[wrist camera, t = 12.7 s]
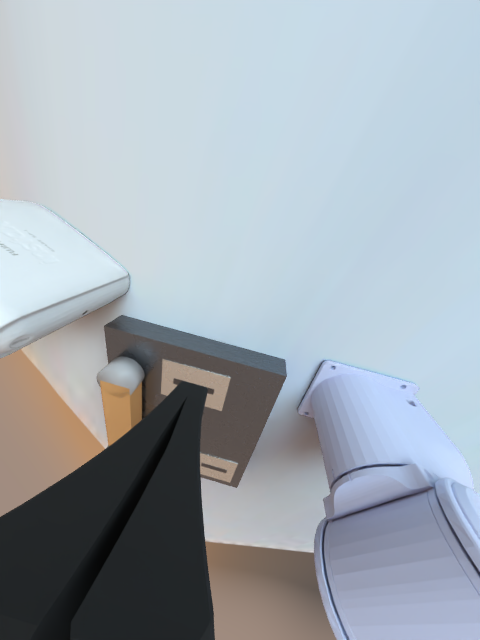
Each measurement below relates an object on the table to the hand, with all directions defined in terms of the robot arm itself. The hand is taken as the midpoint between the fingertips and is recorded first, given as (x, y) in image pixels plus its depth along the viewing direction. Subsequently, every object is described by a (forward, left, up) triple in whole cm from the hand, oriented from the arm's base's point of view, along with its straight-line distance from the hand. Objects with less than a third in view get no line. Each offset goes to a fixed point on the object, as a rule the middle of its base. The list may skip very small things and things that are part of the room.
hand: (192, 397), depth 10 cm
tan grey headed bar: (+9, +14, -7) cm, 18 cm away
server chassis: (+2, +15, -10) cm, 18 cm away
